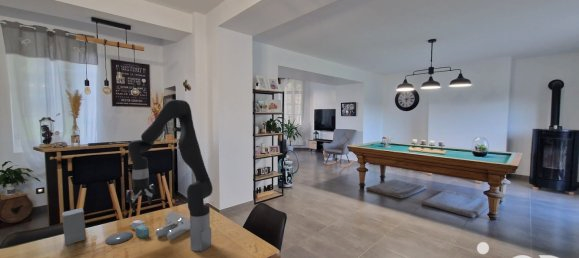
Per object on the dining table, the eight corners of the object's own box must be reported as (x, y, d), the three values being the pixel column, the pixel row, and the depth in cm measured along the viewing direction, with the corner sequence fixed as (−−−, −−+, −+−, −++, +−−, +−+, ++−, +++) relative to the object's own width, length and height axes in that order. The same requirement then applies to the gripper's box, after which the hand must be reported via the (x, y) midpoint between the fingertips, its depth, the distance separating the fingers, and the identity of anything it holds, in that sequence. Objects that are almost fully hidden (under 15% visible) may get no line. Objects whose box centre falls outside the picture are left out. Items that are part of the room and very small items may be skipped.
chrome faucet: (176, 209, 148) (194, 218, 136) (177, 220, 149) (195, 230, 137) (145, 221, 135) (162, 232, 123) (147, 233, 136) (164, 245, 123)
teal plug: (150, 236, 130) (150, 228, 130) (143, 239, 127) (143, 230, 127) (140, 231, 135) (140, 223, 135) (133, 234, 132) (133, 226, 132)
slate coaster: (137, 236, 130) (137, 235, 130) (112, 246, 120) (112, 245, 119) (125, 230, 136) (125, 229, 136) (100, 240, 126) (100, 239, 126)
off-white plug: (146, 227, 140) (146, 221, 139) (142, 230, 136) (141, 223, 136) (133, 226, 141) (133, 219, 141) (129, 229, 138) (128, 222, 138)
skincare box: (85, 235, 131) (83, 206, 129) (86, 240, 125) (84, 210, 124) (63, 241, 125) (62, 211, 124) (64, 246, 120) (62, 215, 118)
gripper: (130, 181, 121) (131, 212, 122) (157, 174, 133) (158, 203, 134) (122, 178, 125) (123, 209, 126) (150, 173, 137) (151, 200, 138)
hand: (141, 206), depth 130 cm, fingers open, 8 cm apart
